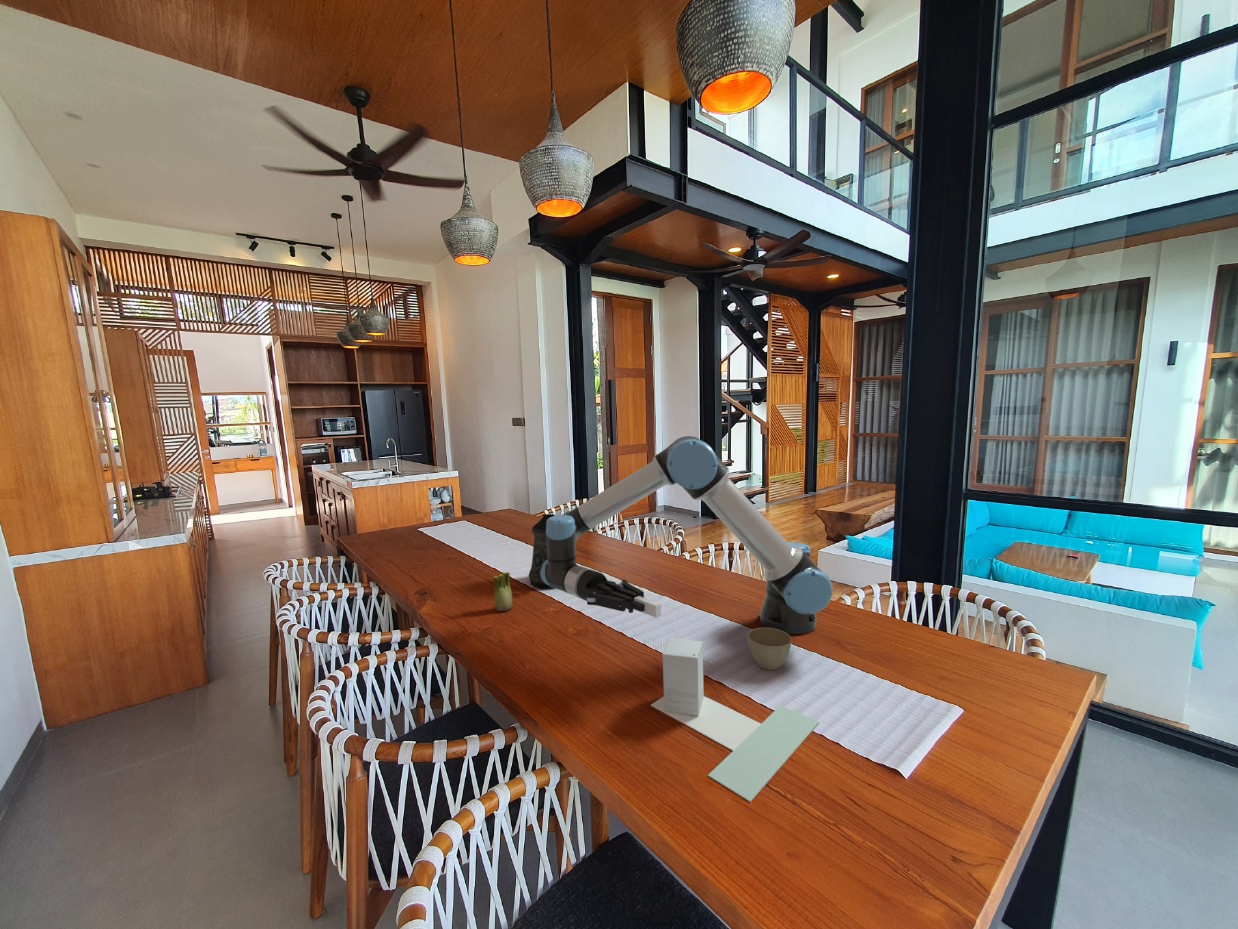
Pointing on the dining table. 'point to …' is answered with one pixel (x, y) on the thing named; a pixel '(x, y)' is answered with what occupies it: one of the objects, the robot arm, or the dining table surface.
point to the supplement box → (683, 676)
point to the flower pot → (769, 647)
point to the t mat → (747, 742)
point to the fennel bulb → (503, 592)
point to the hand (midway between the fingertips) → (658, 610)
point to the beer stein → (539, 553)
